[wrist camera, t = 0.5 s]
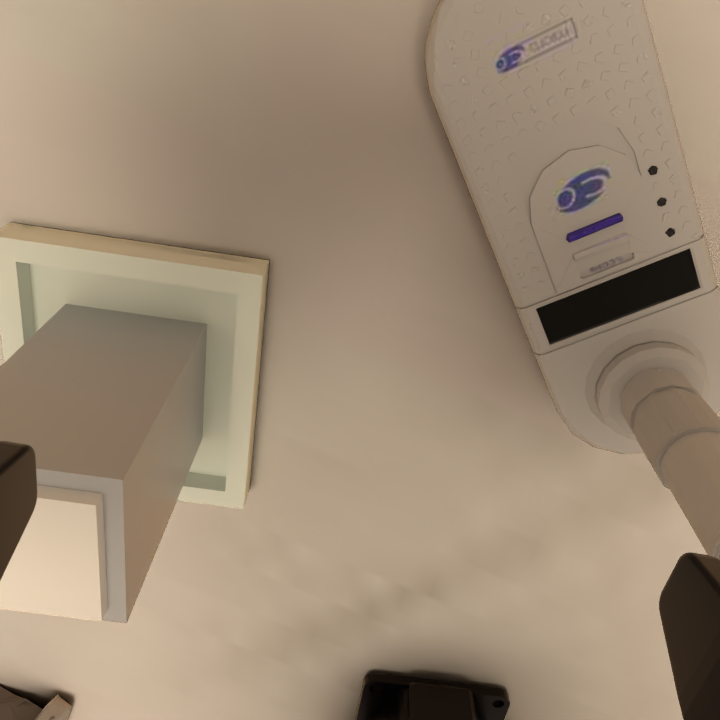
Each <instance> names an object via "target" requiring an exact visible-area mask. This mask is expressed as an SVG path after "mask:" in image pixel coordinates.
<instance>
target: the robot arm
mask: <svg viewBox="0 0 720 720" xmlns="http://www.w3.org/2000/svg"><path fill="white" fill-rule="evenodd" d="M36 501H37V474H36V456H35V451H34V449H33V448H32V447H31V446H30V445H28V444H22V443H16V442H10V441H0V581H1V579H2V576H3V574H4V572H5V570H6V568H7V566H8V564H9V562H10V560H11V558H12V556H13V553H14V551H15V549H16V547H17V545H18V543H19V541H20V539H21V537H22V535H23V533H24V530H25V528H26V526H27V524H28V522H29V520H30V518H31V516H32V514H33V511H34V509H35V506H36ZM659 610H660V616H661V620H662V625H663V630H664V634H665V639H666V644H667V648H668V653H669V658H670V662H671V667H672V671H673V676H674V681H675V685H676V690H677V695H678V699H679V703H680V707H681V711H682V715H683V719H684V720H720V560H719V559H718V558H716V557H713V556H709V555H703V554H697V553H685V554H683V555H682V556H681V557H680V558H679V560H678V562H677V564H676V566H675V568H674V570H673V571H672V573H671V575H670V577H669V579H668V581H667V583H666V585H665V587H664V589H663V591H662V593H661V596H660V601H659ZM509 704H510V702H509V696H508V693H507V692H506V691H505V690H503V689H499V688H491V687H483V686H475V685H467V684H459V683H450V682H442V681H434V680H426V679H418V678H410V677H402V676H394V675H386V674H377V673H372V674H369V675H367V676H366V677H365V678H364V681H363V686H362V690H361V695H360V699H359V704H358V708H357V713H356V717H355V720H504V718H505V715H506V713H507V710H508V708H509Z"/></svg>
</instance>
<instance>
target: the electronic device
mask: <svg viewBox="0 0 720 720" xmlns="http://www.w3.org/2000/svg"><path fill="white" fill-rule="evenodd" d="M425 67H426V74H427V81H428V87H429V91H430V94H431V97H432V100H433V102H434V105H435V107H436V110H437V112H438V115H439V117H440V120H441V122H442V125H443V127H444V130H445V132H446V135H447V137H448V140H449V142H450V145H451V147H452V150H453V152H454V155H455V157H456V160H457V162H458V165H459V167H460V170H461V172H462V175H463V177H464V180H465V182H466V185H467V187H468V190H469V192H470V195H471V197H472V200H473V202H474V205H475V207H476V210H477V212H478V215H479V217H480V220H481V222H482V225H483V227H484V230H485V232H486V235H487V237H488V240H489V242H490V245H491V247H492V250H493V252H494V255H495V257H496V260H497V262H498V265H499V267H500V270H501V272H502V275H503V277H504V280H505V282H506V285H507V287H508V290H509V292H510V295H511V297H512V300H513V302H514V305H515V307H516V310H517V312H518V315H519V317H520V320H521V322H522V325H523V327H524V330H525V332H526V335H527V337H528V340H529V342H530V345H531V347H532V350H533V352H534V355H535V357H536V360H537V362H538V365H539V367H540V370H541V372H542V375H543V377H544V380H545V382H546V385H547V387H548V390H549V392H550V395H551V397H552V400H553V402H554V405H555V407H556V410H557V412H558V413H559V415H560V416H561V418H562V419H563V421H564V422H565V423H566V425H567V426H568V428H569V429H570V431H571V432H572V434H574V435H575V436H577V437H579V438H580V439H582V440H583V441H585V442H586V443H588V444H590V445H591V446H593V447H596V448H600V449H604V450H608V451H612V452H616V453H620V454H632V453H645V455H646V457H647V458H648V460H649V462H650V463H651V465H652V467H653V469H654V470H655V472H656V474H657V475H658V477H659V479H660V480H661V482H662V484H663V485H664V487H666V488H668V489H670V490H671V492H672V493H673V495H674V497H675V499H676V500H677V502H678V504H679V505H680V507H681V509H682V511H683V512H684V514H685V516H686V518H687V519H688V521H689V523H690V525H691V526H692V528H693V530H694V532H695V533H696V535H697V537H698V538H699V540H700V542H701V544H702V545H703V547H704V549H705V551H706V552H707V554H708V555H709V556H713V557H716V558H718V559H719V560H720V418H719V417H718V416H717V415H716V414H717V413H718V411H719V410H720V292H719V288H718V286H717V281H716V277H715V273H714V270H713V266H712V262H711V258H710V254H709V251H708V247H707V243H706V239H705V235H704V233H703V228H702V224H701V220H700V216H699V212H698V208H697V205H696V201H695V197H694V193H693V189H692V185H691V182H690V178H689V174H688V170H687V166H686V163H685V159H684V155H683V151H682V147H681V143H680V140H679V136H678V132H677V128H676V124H675V121H674V117H673V113H672V109H671V105H670V101H669V98H668V94H667V90H666V86H665V82H664V79H663V75H662V71H661V67H660V63H659V59H658V56H657V52H656V48H655V44H654V40H653V37H652V33H651V29H650V25H649V21H648V17H647V14H646V10H645V6H644V2H643V0H441V1H440V3H439V4H438V6H437V8H436V11H435V13H434V16H433V19H432V22H431V24H430V27H429V32H428V37H427V41H426V51H425Z"/></svg>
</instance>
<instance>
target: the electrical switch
mask: <svg viewBox="0 0 720 720" xmlns="http://www.w3.org/2000/svg"><path fill="white" fill-rule="evenodd" d="M71 708H72V706H71V705H69V704H68V703H67V702H66V701H64V700H63V699H62V698H61V697H59V695H58V694H57V695H56V696H55V697H54V698H53V699H52V700H51V701H50V702H49V703H48V704H47V705H46V706H45V707H44V709H41V708H40V707H38V706H36V705H35V704H33V703H32V702H30V701H29V700H27V699H25V698H22V697H19V696H16V695H14V694H13V693H11V692H9V691H8V690H6V689H5V688H3V687H1V686H0V720H68V717H69V714H70V712H71Z"/></svg>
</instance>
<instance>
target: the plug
mask: <svg viewBox="0 0 720 720" xmlns="http://www.w3.org/2000/svg"><path fill="white" fill-rule="evenodd" d="M206 339H207V324H204V323H197V322H190V321H183V320H176V319H169V318H162V317H155V316H148V315H141V314H134V313H127V312H120V311H113V310H106V309H99V308H92V307H85V306H78V305H71V304H65V305H64V306H63V307H62V308H61V309H60V310H59V311H58V312H57V313H56V314H55V315H53V316H52V317H51V318H50V319H49V320H48V321H47V322H46V323H45V324H44V325H43V326H42V327H41V328H40V329H39V330H38V331H37V332H36V333H35V334H34V335H33V336H32V337H31V338H30V339H29V340H28V341H27V342H26V343H24V344H23V345H22V346H21V347H20V348H19V349H18V350H17V351H16V352H15V353H14V354H13V355H12V356H11V357H10V358H9V359H8V360H7V361H6V362H5V363H4V364H3V365H2V366H1V367H0V441H10V442H16V443H22V444H28V445H30V446H31V447H32V448H33V449H34V451H35V456H36V474H37V501H36V506H35V509H34V511H33V514H32V516H31V518H30V520H29V522H28V524H27V526H26V528H25V530H24V533H23V535H22V537H21V539H20V541H19V543H18V545H17V547H16V549H15V551H14V553H13V556H12V558H11V560H10V562H9V564H8V566H7V568H6V570H5V572H4V574H3V576H2V579H1V581H0V609H5V610H13V611H21V612H29V613H37V614H45V615H53V616H61V617H69V618H77V619H85V620H94V621H102V620H104V621H112V622H120V623H127V621H128V619H129V616H130V614H131V611H132V609H133V606H134V604H135V601H136V599H137V597H138V594H139V592H140V589H141V587H142V584H143V582H144V580H145V577H146V575H147V572H148V570H149V567H150V565H151V563H152V560H153V558H154V555H155V553H156V550H157V548H158V545H159V543H160V541H161V538H162V536H163V533H164V531H165V528H166V526H167V524H168V521H169V519H170V516H171V514H172V511H173V509H174V506H175V504H176V502H177V499H178V497H179V494H180V492H181V489H182V487H183V485H184V482H185V480H186V477H187V475H188V472H189V470H190V467H191V465H192V463H193V460H194V458H195V455H196V453H197V450H198V448H199V446H200V443H201V441H202V434H203V411H204V387H205V363H206Z"/></svg>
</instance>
